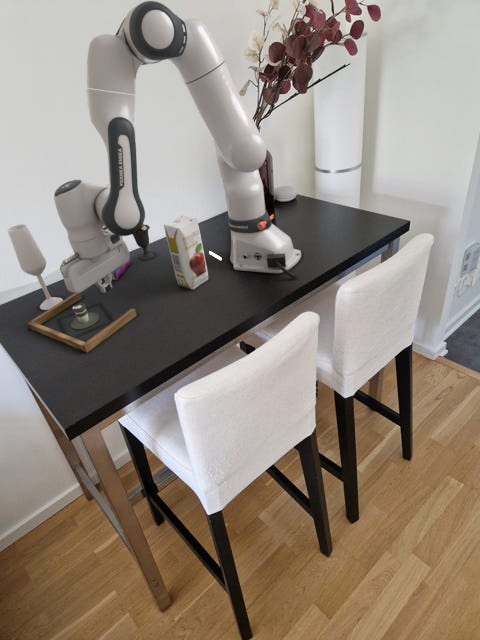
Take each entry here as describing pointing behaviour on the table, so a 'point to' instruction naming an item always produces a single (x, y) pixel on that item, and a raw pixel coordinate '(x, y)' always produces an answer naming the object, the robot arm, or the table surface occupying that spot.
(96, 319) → the grey round stand
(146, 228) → the sundae
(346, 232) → the table surface
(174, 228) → the juice carton
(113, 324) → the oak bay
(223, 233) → the table surface
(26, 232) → the champagne flute
